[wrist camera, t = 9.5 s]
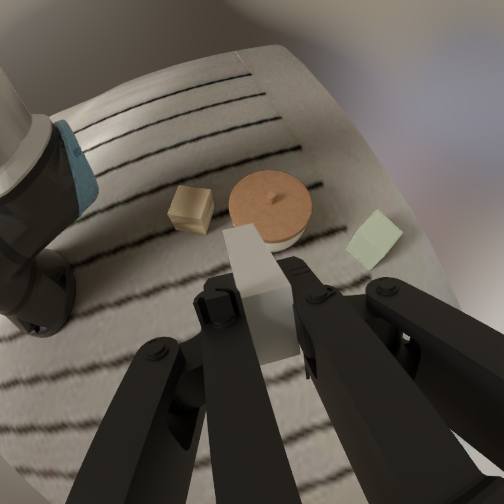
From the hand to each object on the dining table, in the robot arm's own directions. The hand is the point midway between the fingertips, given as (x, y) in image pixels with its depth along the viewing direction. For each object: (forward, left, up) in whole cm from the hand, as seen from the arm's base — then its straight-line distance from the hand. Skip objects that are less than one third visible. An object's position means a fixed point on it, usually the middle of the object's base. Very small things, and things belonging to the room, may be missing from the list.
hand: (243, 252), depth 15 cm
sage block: (+11, +18, -26) cm, 33 cm away
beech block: (-15, +11, -26) cm, 32 cm away
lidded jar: (-4, +14, -26) cm, 30 cm away
